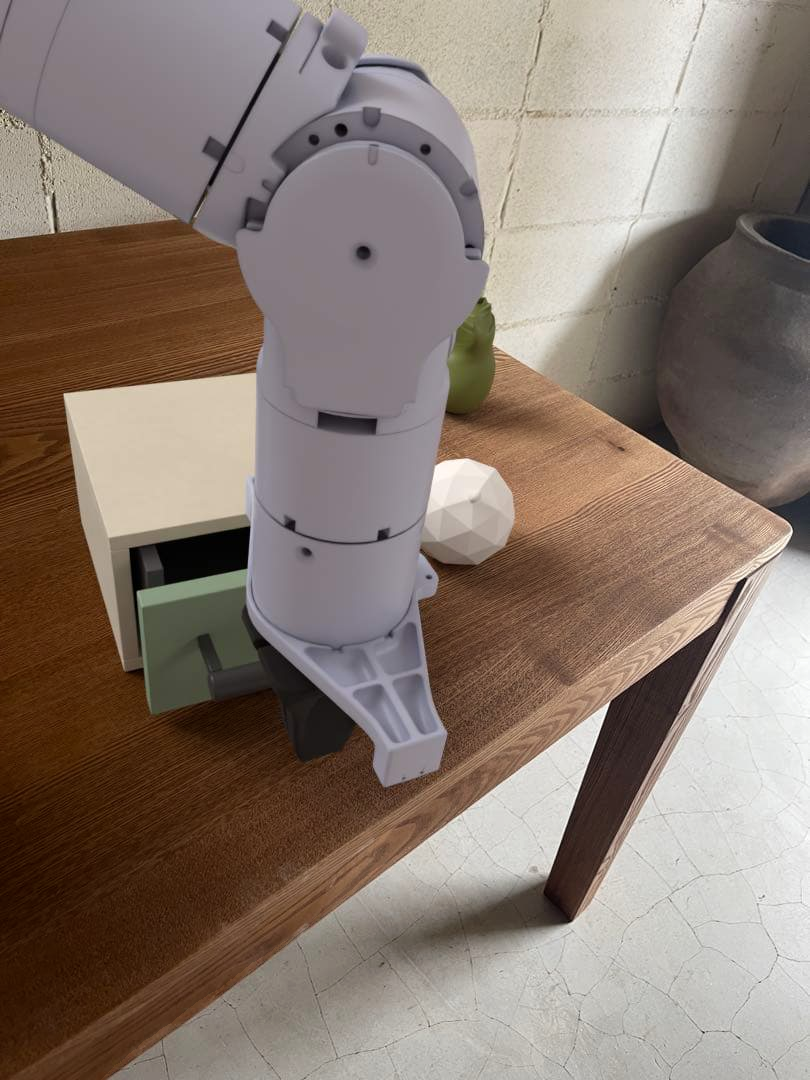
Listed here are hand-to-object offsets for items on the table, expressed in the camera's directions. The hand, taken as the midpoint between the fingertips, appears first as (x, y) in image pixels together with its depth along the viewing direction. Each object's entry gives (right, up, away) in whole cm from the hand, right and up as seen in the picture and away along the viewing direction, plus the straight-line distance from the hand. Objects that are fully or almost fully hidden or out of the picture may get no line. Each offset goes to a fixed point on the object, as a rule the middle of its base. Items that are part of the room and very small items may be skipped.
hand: (316, 743), depth 37 cm
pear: (+8, +20, +38) cm, 43 cm away
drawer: (-6, +3, +13) cm, 15 cm away
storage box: (-9, +7, +18) cm, 21 cm away
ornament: (+7, +8, +23) cm, 25 cm away
